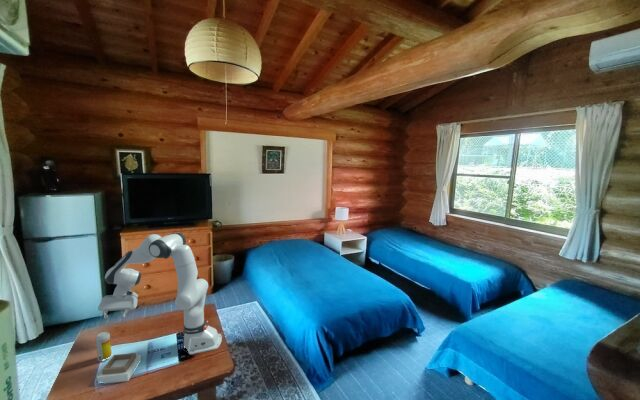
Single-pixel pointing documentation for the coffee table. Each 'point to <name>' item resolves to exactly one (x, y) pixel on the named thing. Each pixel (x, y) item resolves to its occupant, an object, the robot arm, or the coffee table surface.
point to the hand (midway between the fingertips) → (114, 317)
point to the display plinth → (119, 368)
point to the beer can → (103, 345)
